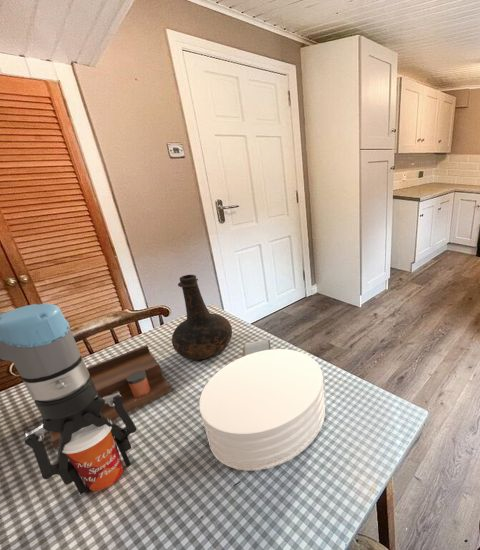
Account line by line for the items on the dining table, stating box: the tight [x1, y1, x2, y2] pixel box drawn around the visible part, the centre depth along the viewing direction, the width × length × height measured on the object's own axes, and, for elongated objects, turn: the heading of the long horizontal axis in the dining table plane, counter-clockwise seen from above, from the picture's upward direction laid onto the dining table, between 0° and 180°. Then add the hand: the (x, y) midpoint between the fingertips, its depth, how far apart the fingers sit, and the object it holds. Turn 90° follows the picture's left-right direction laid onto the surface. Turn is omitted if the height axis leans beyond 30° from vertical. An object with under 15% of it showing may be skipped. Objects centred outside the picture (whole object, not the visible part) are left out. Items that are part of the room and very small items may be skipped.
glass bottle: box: [171, 274, 233, 361], centre depth 99 cm, size 18×18×28 cm
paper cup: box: [62, 420, 124, 492], centre depth 61 cm, size 8×8×14 cm
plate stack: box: [198, 348, 326, 472], centre depth 75 cm, size 28×28×12 cm
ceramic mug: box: [242, 338, 272, 357], centre depth 95 cm, size 11×8×8 cm
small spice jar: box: [126, 371, 151, 397], centre depth 81 cm, size 4×4×5 cm
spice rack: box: [48, 344, 173, 449], centre depth 81 cm, size 16×24×9 cm, turn 138°
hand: (105, 474), depth 63 cm, fingers closed on paper cup, 7 cm apart
